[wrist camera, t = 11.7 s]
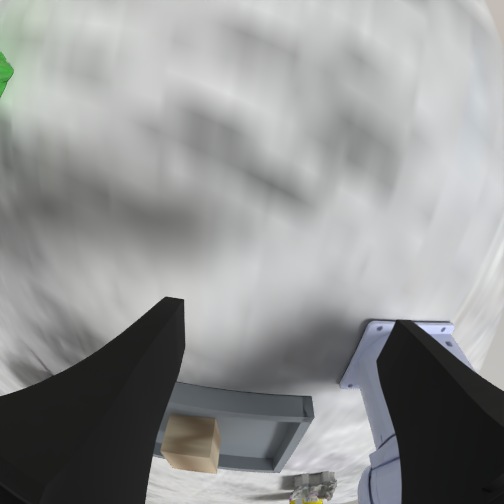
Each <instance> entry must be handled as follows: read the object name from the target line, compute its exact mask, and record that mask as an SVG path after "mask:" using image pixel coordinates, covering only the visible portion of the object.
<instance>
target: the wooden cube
mask: <svg viewBox="0 0 504 504" xmlns="http://www.w3.org/2000/svg"><path fill="white" fill-rule="evenodd" d="M220 443H221V436H220V433H219V429H218V425H217V422H216V418H207V417H195V416H186V415H177V414H170V416H169V420H168V424H167V427H166V431H165V435H164V438H163V442H162V446H161V450H160V452H161V453H162V454H163V456H164V457H165V459H166V460H167V461H168V463H169V464H170V465H171V467H172V468H175V469H181V470H188V471H195V472H204V473H214V474H217V467H218V459H219V451H220Z"/></svg>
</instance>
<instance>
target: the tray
mask: <svg viewBox="0 0 504 504" xmlns="http://www.w3.org/2000/svg"><path fill="white" fill-rule="evenodd" d="M170 414H177V415H186V416H195V417H207V418H216V422H217V425H218V429H219V433H220V436H221V443H220V451H219V459H218V467H217V468H218V469H226V470H235V471H247V472H264V473H280V472H281V470H282V469H283V467H284V466H285V464H286V463H287V461H288V460H289V458H290V457H291V455H292V453H293V452H294V450H295V449H296V447H297V446H298V444H299V442H300V441H301V439H302V437H303V436H304V434H305V432H306V431H307V429H308V427H309V426H310V424H311V422H312V420H313V419H314V410H313V403H312V397H310V396H285V395H270V394H258V393H247V392H238V391H230V390H222V389H215V388H208V387H202V386H196V385H190V384H185V383H179V382H176V383H175V386H174V388H173V391H172V394H171V397H170V399H169V402H168V405H167V408H166V411H165V413H164V416H163V419H162V422H161V425H160V428H159V431H158V435H157V438H156V443H155V448H154V452H153V456H154V457H158V458H163V459H165V457H164V456H163V454H162V453H161V452H160V450H161V446H162V442H163V438H164V435H165V431H166V427H167V424H168V420H169V416H170Z"/></svg>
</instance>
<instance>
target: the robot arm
mask: <svg viewBox="0 0 504 504" xmlns="http://www.w3.org/2000/svg"><path fill="white" fill-rule="evenodd" d="M379 326H380V327H379ZM378 327H379V328H378ZM454 328H455V326H454V325H453V323H421V322H412V321H411V320H396V322H390V321H372V322H370V323H369V324H368V325H367V328H366V330H365V332H364V334H363V337H362V339H361V341H360V343H359V345H358V348H357V350H356V352H355V354H354V356H353V358H352V360H351V362H350V364H349V366H348V368H347V370H346V372H345V374H344V376H343V378H342V380H341V382H340V388H342V389H360V390H361V394H362V397H363V401H364V404H365V408H366V412H367V415H368V419H369V423H370V427H371V431H372V435H373V439H374V443H375V447H376V451H375V452H373V453H371V454H370V455H369V457H370V462H371V465H370V466H369V467H367V468H366V469H365V470H364V472H363V474H362V476H361V479H360V481H359V485H358V502H359V504H504V391H502V390H501V389H499V388H497V387H496V386H494V385H492V384H491V383H490V382H488V381H487V380H485V379H484V378H482V377H481V376H480V375H478V374H477V373H476V372H475V370H474V369H473V367H472V365H471V364H470V362H469V361H468V359H467V358H466V356H465V354H464V353H463V351H462V350H461V348H460V347H459V345H458V344H457V342H456V341H455V340H454V338H453V337H452V335H451V334H452V332H453V330H454ZM184 350H185V322H184V299H178V298H172V297H164V298H163V299H162V300H161V301H159V302H158V303H157V304H156V305H155V306H154V307H152V308H151V309H150V310H149V311H148V312H147V313H145V314H144V315H143V316H142V317H141V318H140V319H138V320H137V321H136V322H135V323H133V324H132V325H131V326H130V327H129V328H127V329H126V330H125V331H124V332H122V333H121V334H120V335H119V336H117V337H116V338H114V339H113V340H112V341H110V342H109V343H108V344H106V345H105V346H104V347H102V348H101V349H99V350H98V351H96V352H95V353H93V354H92V355H90V356H89V357H87V358H86V359H84V360H82V361H81V362H79V363H77V364H76V365H74V366H72V367H70V368H69V369H67V370H65V371H63V372H61V373H59V374H56V375H54V376H52V377H50V378H48V379H46V380H44V381H42V382H40V383H37V384H35V385H32V386H30V387H27V388H25V389H22V390H19V391H16V392H13V393H10V394H7V395H3V396H0V504H145V500H146V492H147V485H148V479H149V473H150V468H151V462H152V457H153V452H154V448H155V443H156V438H157V435H158V431H159V428H160V425H161V422H162V419H163V416H164V413H165V411H166V408H167V405H168V402H169V399H170V397H171V394H172V391H173V388H174V386H175V383H176V380H177V377H178V374H179V371H180V367H181V363H182V359H183V354H184Z"/></svg>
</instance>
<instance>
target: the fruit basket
mask: <svg viewBox="0 0 504 504" xmlns="http://www.w3.org/2000/svg"><path fill="white" fill-rule="evenodd" d="M12 74H13V69H12V67H11V66H10V64H9V63H7V62H6V59H5V57H4V55H3V54H2V52H0V96H1V94H2V92H3V90H4V88H5V86H6V83H7V80H9V78H10V77H11V76H12Z"/></svg>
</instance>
